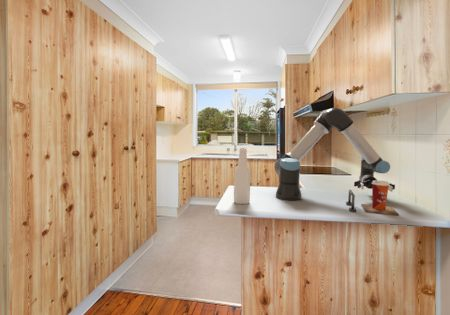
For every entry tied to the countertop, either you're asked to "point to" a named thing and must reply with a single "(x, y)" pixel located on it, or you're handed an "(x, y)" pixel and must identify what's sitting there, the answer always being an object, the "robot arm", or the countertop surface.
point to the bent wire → (351, 202)
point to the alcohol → (242, 179)
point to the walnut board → (387, 210)
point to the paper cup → (379, 194)
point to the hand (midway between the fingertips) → (377, 188)
